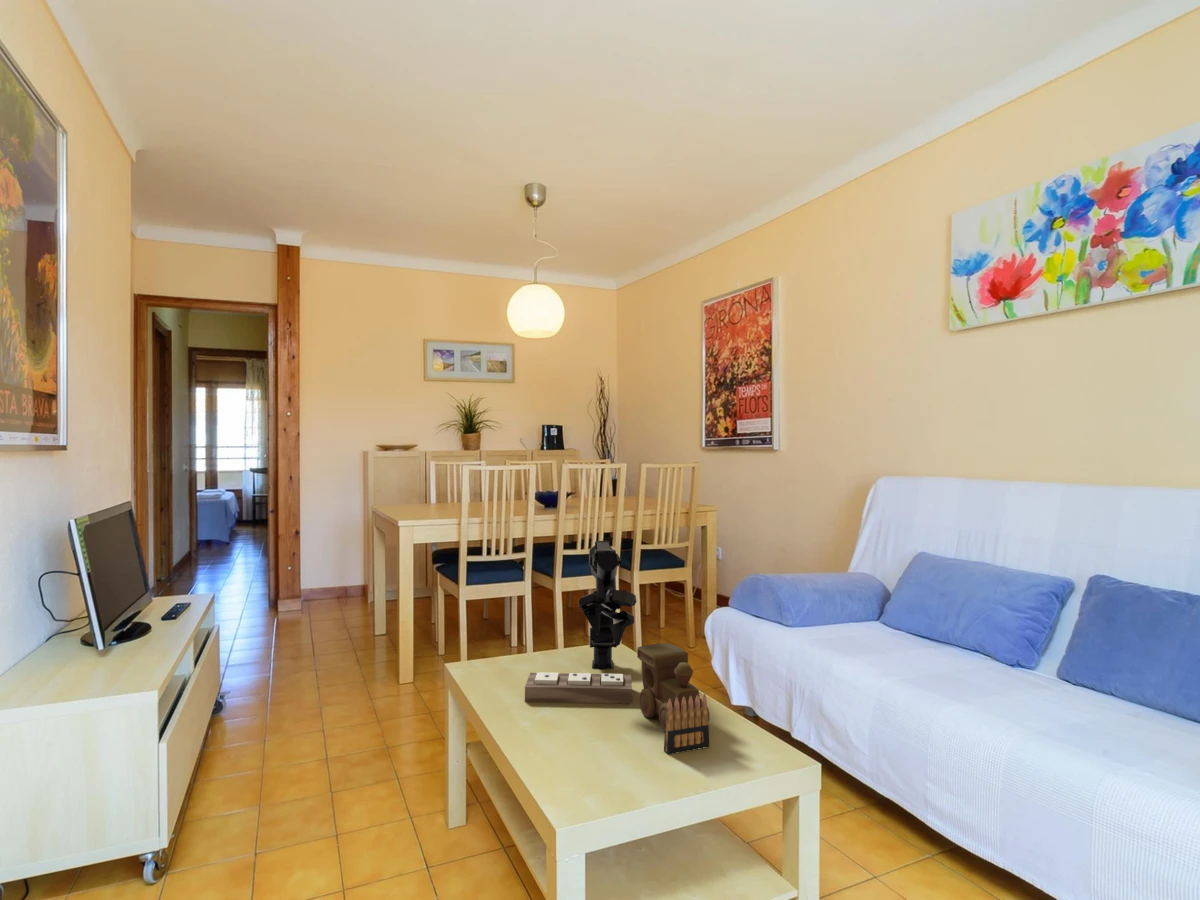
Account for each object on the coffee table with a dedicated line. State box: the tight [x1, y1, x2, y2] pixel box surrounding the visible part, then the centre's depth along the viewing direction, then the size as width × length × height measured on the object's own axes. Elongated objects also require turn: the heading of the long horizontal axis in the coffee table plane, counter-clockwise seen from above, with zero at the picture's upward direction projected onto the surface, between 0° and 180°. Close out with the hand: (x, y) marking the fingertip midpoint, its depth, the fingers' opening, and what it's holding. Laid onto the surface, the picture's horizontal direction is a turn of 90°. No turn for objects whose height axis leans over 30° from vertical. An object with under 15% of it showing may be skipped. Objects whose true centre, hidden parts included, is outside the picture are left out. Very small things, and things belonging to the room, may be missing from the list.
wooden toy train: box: [636, 642, 710, 732], centre depth 161 cm, size 20×11×17 cm, turn 24°
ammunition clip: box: [663, 693, 710, 755], centre depth 146 cm, size 11×2×12 cm, turn 110°
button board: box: [524, 672, 633, 705], centre depth 177 cm, size 11×29×4 cm, turn 89°
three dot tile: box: [600, 673, 623, 686], centre depth 177 cm, size 6×6×3 cm
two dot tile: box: [568, 672, 592, 685], centre depth 177 cm, size 6×6×3 cm
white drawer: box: [535, 671, 560, 684], centre depth 177 cm, size 6×6×3 cm
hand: (607, 639), depth 177 cm, fingers open, 9 cm apart
